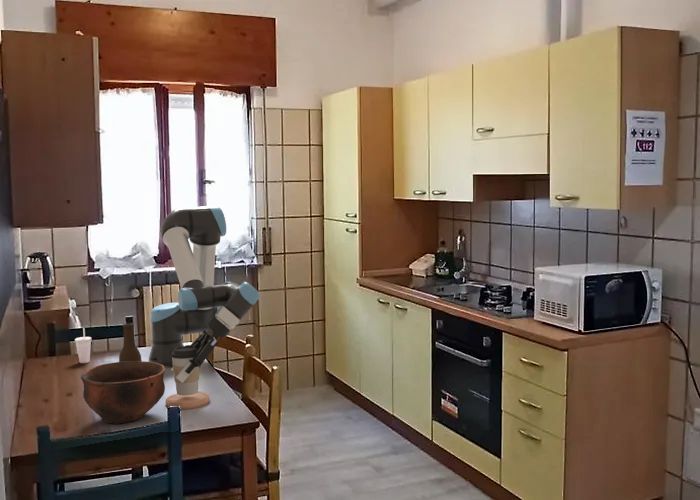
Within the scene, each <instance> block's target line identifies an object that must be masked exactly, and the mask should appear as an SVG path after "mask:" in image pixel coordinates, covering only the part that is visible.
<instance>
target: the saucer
mask: <svg viewBox="0 0 700 500" xmlns="http://www.w3.org/2000/svg"><path fill="white" fill-rule="evenodd" d="M210 401H211V399H210V395H209V394H208V393H206V392H203V391H198V393H196V394H193V395H186V396H183V395H178V394H177V393H174V394H171V395H169V396H168V397H166V398H165V406H166V407H167V408H169V407H170V406H180V408H181V409H180V410H192V409H196V408H197V409H198V408H201V407H204V406H206V405H209V403H210Z"/></svg>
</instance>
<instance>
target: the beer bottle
mask: <svg viewBox="0 0 700 500" xmlns="http://www.w3.org/2000/svg"><path fill="white" fill-rule="evenodd" d="M134 326H135V325H134V323H133V322H126V323H123V324H122V329H123V344H122V348H121V350H120V352H119V355H118V362H124V361H143V360H142V355H141V353H140V351H139V348H138V347H137V346H136V341H135V332H134Z"/></svg>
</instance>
